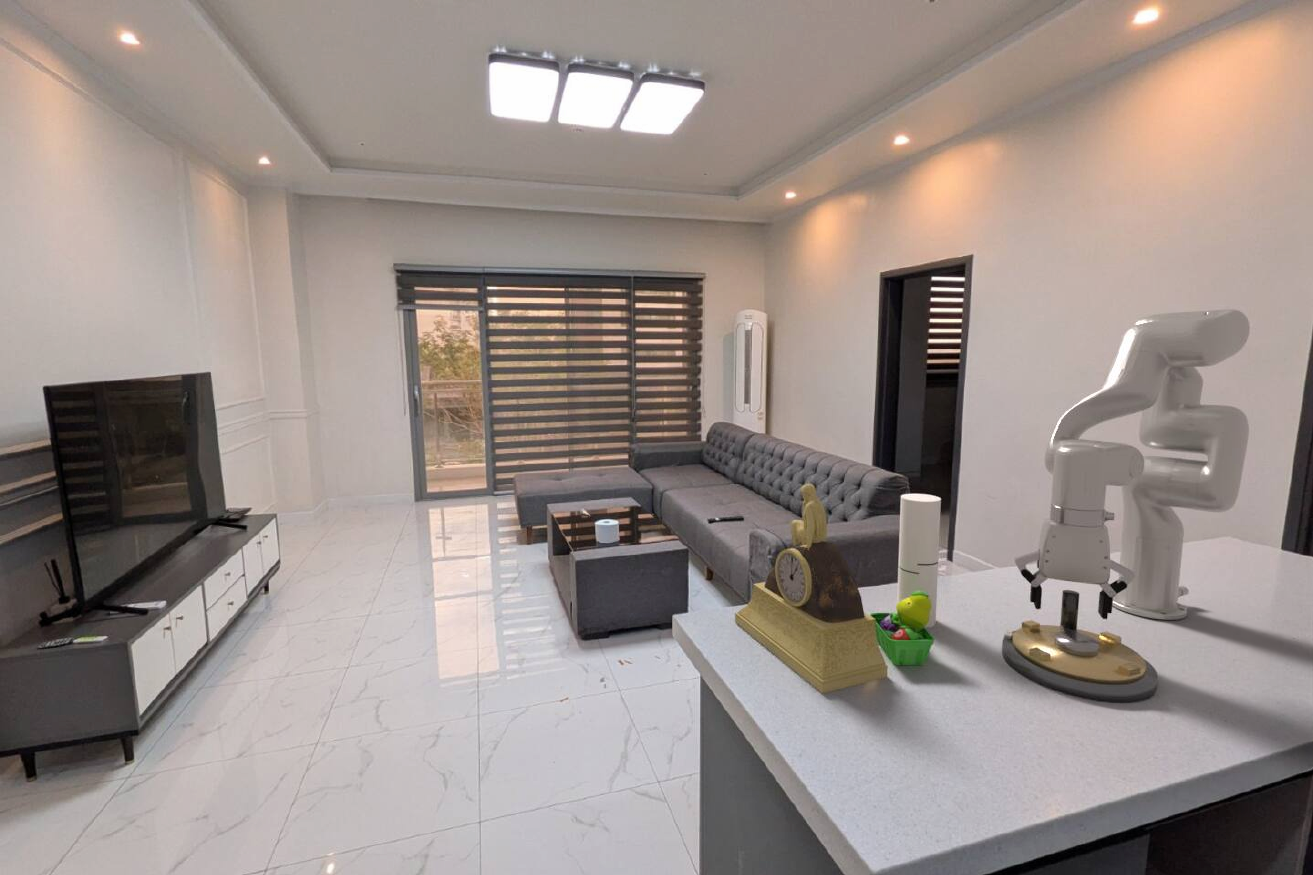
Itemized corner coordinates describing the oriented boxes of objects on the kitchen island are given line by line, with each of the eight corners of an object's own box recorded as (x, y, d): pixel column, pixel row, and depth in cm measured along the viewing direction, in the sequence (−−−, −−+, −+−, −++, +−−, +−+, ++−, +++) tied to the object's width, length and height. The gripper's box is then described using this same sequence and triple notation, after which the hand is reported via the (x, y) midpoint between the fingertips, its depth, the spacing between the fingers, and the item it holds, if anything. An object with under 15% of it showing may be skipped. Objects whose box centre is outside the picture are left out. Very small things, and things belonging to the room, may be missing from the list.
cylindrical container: (939, 629, 113) (945, 502, 110) (900, 626, 114) (905, 501, 111) (930, 613, 120) (935, 494, 117) (893, 611, 121) (897, 493, 118)
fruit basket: (867, 638, 110) (868, 580, 108) (915, 638, 109) (917, 580, 108) (889, 669, 98) (891, 605, 97) (942, 669, 98) (945, 605, 97)
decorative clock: (735, 622, 118) (735, 475, 114) (789, 612, 122) (791, 470, 119) (822, 694, 91) (825, 506, 88) (887, 677, 96) (893, 498, 92)
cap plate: (1059, 631, 111) (1060, 618, 111) (1189, 687, 91) (1191, 671, 91) (973, 649, 104) (974, 635, 104) (1094, 714, 85) (1095, 697, 84)
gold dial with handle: (1062, 625, 109) (1065, 581, 108) (1173, 671, 92) (1178, 620, 91) (988, 640, 103) (990, 595, 102) (1092, 693, 86) (1096, 639, 85)
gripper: (1132, 516, 101) (1124, 611, 103) (1015, 507, 108) (1010, 595, 110) (1146, 527, 94) (1136, 628, 96) (1020, 516, 102) (1014, 610, 104)
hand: (1069, 611), depth 103 cm, fingers open, 9 cm apart
